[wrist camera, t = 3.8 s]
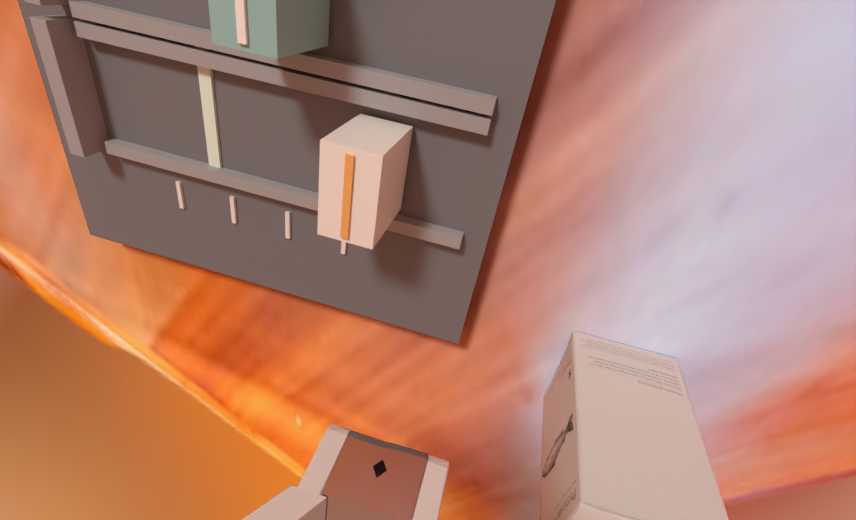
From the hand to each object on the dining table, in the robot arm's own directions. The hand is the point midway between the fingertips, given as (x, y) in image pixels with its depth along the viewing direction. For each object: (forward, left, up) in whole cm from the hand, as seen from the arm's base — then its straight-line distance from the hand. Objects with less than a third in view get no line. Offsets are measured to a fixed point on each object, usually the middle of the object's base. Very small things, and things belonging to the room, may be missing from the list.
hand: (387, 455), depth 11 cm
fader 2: (+6, 0, -17) cm, 18 cm away
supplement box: (-12, +13, -19) cm, 26 cm away
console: (+14, 0, -19) cm, 24 cm away
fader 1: (+11, -8, -17) cm, 22 cm away
